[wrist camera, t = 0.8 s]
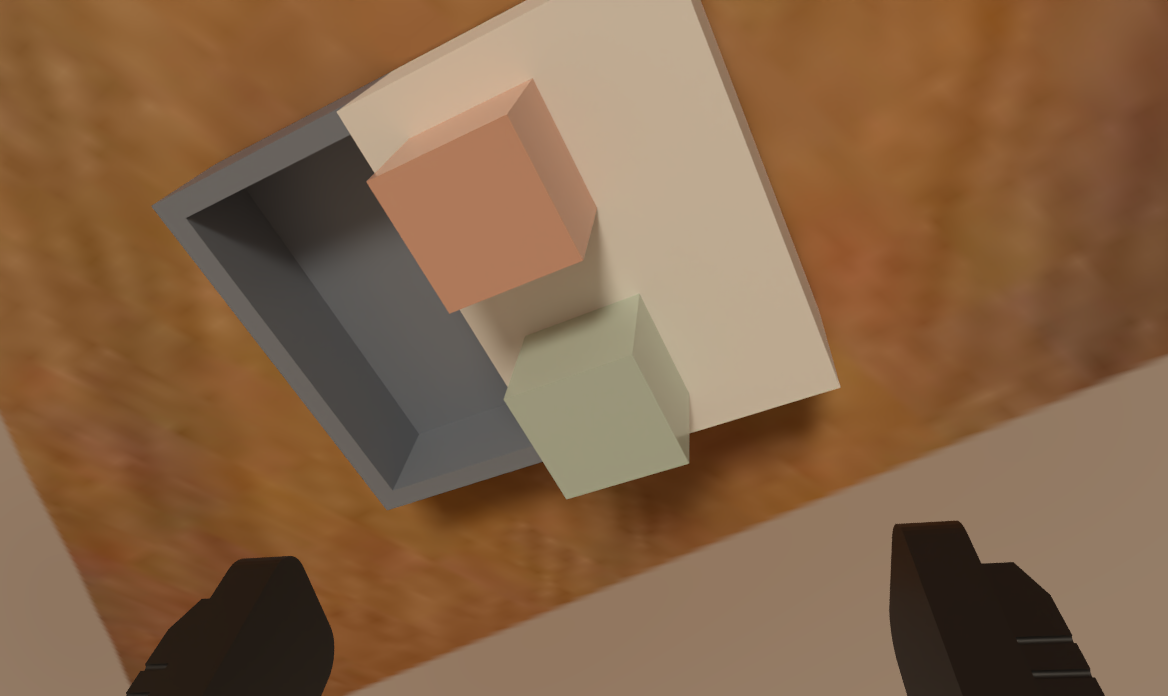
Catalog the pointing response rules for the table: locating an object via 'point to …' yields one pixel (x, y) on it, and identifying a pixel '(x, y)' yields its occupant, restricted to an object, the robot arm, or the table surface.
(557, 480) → the sage green cube
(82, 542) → the table surface
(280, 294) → the box
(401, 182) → the orange cube
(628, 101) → the cream rectangular block
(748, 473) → the table surface
